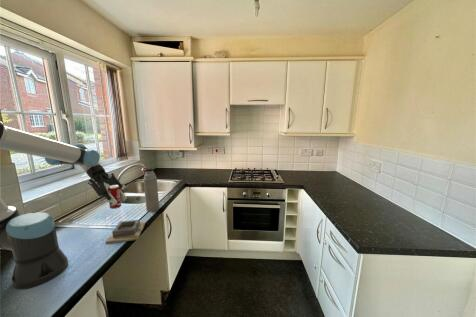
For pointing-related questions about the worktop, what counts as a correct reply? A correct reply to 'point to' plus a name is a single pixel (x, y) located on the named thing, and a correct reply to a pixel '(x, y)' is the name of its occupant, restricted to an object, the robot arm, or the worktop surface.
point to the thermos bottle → (151, 190)
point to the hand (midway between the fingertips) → (120, 201)
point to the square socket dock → (126, 231)
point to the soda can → (115, 196)
